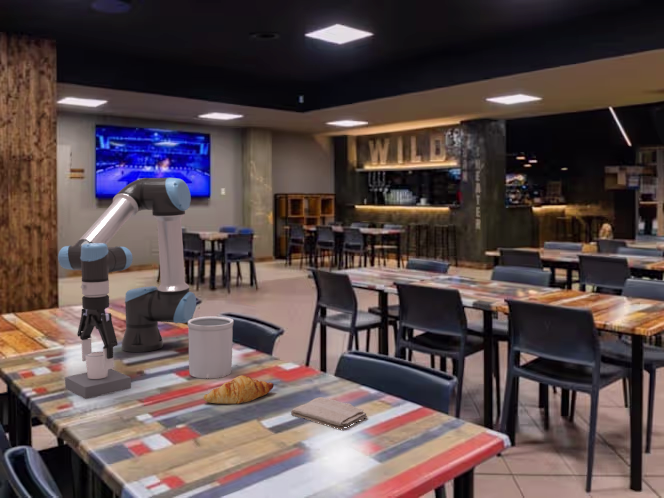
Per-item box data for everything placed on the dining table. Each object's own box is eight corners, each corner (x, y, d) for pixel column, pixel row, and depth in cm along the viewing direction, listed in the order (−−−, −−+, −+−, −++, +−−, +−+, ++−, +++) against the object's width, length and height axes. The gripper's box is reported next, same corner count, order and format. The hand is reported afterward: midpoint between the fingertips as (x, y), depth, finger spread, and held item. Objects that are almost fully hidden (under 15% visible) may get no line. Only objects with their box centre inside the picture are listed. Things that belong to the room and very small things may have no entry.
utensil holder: (242, 369, 202) (242, 318, 201) (216, 382, 189) (215, 327, 187) (206, 364, 209) (206, 314, 207) (178, 375, 195) (177, 322, 194)
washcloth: (343, 433, 150) (343, 421, 150) (288, 417, 161) (288, 406, 160) (369, 419, 160) (369, 407, 159) (316, 405, 170) (316, 394, 170)
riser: (109, 380, 192) (109, 367, 192) (131, 390, 182) (130, 377, 182) (65, 389, 182) (64, 377, 182) (85, 401, 172) (85, 387, 172)
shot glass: (101, 380, 178) (101, 356, 178) (80, 378, 179) (80, 355, 179) (114, 374, 185) (113, 351, 184) (94, 373, 186) (93, 350, 186)
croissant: (207, 419, 167) (210, 399, 163) (196, 394, 174) (200, 373, 170) (276, 405, 177) (281, 385, 173) (264, 381, 184) (268, 362, 180)
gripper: (64, 291, 185) (66, 359, 187) (104, 301, 169) (106, 375, 171) (88, 289, 191) (90, 354, 193) (128, 298, 174) (130, 370, 176)
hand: (97, 364), depth 182 cm, fingers open, 13 cm apart
